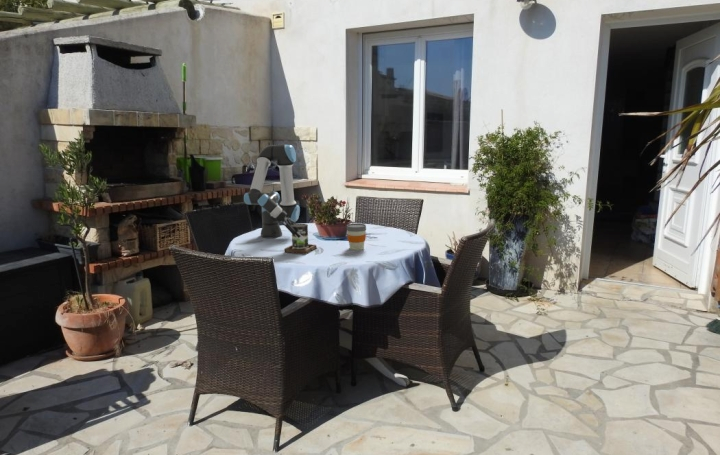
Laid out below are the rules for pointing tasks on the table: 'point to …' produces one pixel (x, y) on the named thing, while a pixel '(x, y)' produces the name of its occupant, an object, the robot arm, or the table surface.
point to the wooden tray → (300, 251)
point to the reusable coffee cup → (356, 236)
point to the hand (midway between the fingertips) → (304, 238)
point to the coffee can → (304, 232)
